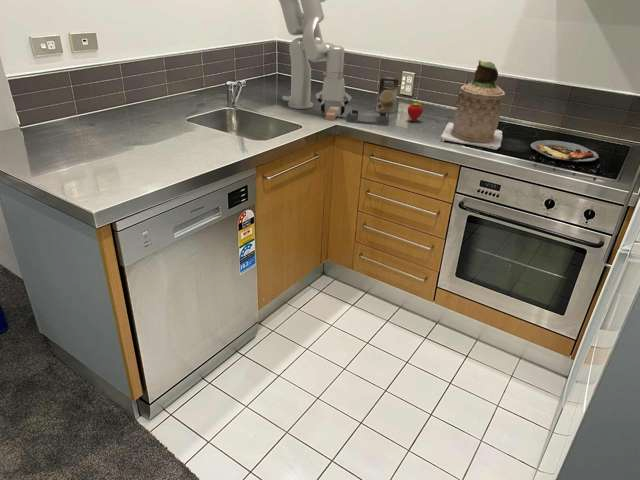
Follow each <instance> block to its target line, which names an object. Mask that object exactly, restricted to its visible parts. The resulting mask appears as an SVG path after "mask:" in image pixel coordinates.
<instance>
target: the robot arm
mask: <svg viewBox="0 0 640 480" xmlns="http://www.w3.org/2000/svg"><path fill="white" fill-rule="evenodd" d="M278 1H279V4H280V7H281V10H282V14H283V18H284V23H285V26H286V29H287V32H288V34H289V35H291V36H295V37H296V36H297V37H296V38H294V39H293V40H292V41H290V44H289V48H288V49H289V55H290V65H291V69H290V70H291V71H290V73H291V74H290V78H291V79H290V80H291V81H290V82H291V83H290V95H288V96H287V95H283V96H282V101H285V102H286V101H287V106H288V107H289V108H292V109H297V110H299V109H300V110H307V109H311V108H313V107H314V103H313V102H312V101H311V89H312V86H311V85H312V84H311V83H312V67H311V64H310V62H313V63H319V62H325V61H326V70H325V71H323V72H322V74H323V76H325V77H324V78H323V84H322V90H321V91H318V92H317V93H315V98H316V99H317V101H318V102H319V104H320V111H321V113H322V114H324V113H325V111H326V110H325V109H326V104H325V102H335V103H340V104H341V107H340V115H341V116H343V115H344V114H345V109H346V108H345V107H346V106H347V105H348V104H349V103H350V101H351V100H352V96H351V95H350V94H348V93H347V92H346V90H345V89H346V85H345V78H344V63H345V49H344V47H343V46H341V45H335V44H334V43H330V42H324V41H323V35H322V33H321V32H322V31H321V28H320V24H319V23H322V22H323V20H325V14H324V11H323V5H322V3H325V2H326V1H327V0H278ZM299 1H300V2H299ZM301 8H302V9H301ZM298 36H301V37H298ZM309 61H310V62H309ZM320 96H321V97H320ZM345 97H346V98H347V99H346V100H345Z"/></svg>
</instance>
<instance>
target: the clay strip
mask: <svg viewBox="0 0 640 480" xmlns="http://www.w3.org/2000/svg"><path fill="white" fill-rule="evenodd" d="M339 112H340V106H339V107H338V106H330V107H329V109H328V111H327V112H326V113H325V121H330V120H332V122H334V121H335V120H336V118H337V116H338V115H339V114H340V113H339Z"/></svg>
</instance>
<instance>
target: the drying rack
mask: <svg viewBox="0 0 640 480" xmlns="http://www.w3.org/2000/svg"><path fill="white" fill-rule="evenodd" d="M389 120H390V113H389V112H379V116H377V115H376V116H374V115H365V114H359V109H348V110H347V112H346V120H345V123H353V124H365V125H376V126H386V127H388V126H389Z"/></svg>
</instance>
